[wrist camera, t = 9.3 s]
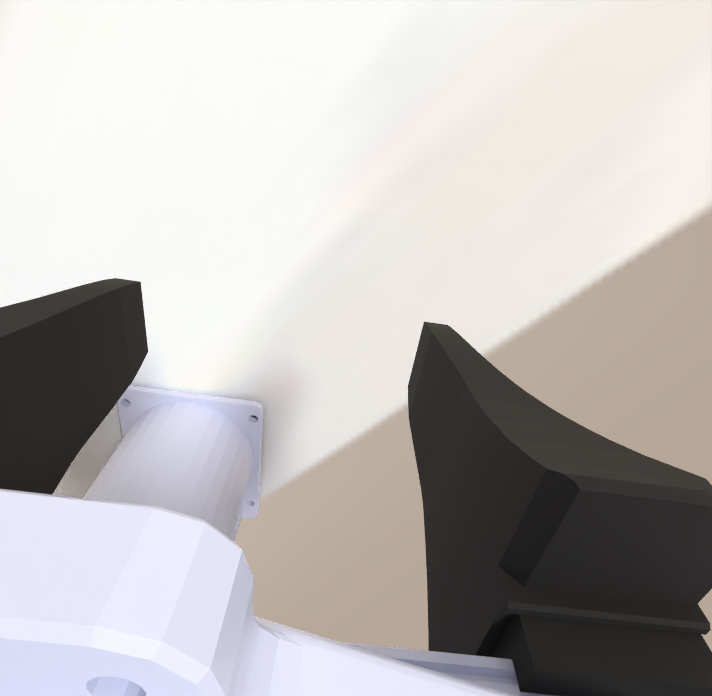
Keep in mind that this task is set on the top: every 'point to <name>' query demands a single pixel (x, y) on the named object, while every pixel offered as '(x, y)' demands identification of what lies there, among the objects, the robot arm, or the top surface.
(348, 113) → the top surface
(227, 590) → the robot arm
